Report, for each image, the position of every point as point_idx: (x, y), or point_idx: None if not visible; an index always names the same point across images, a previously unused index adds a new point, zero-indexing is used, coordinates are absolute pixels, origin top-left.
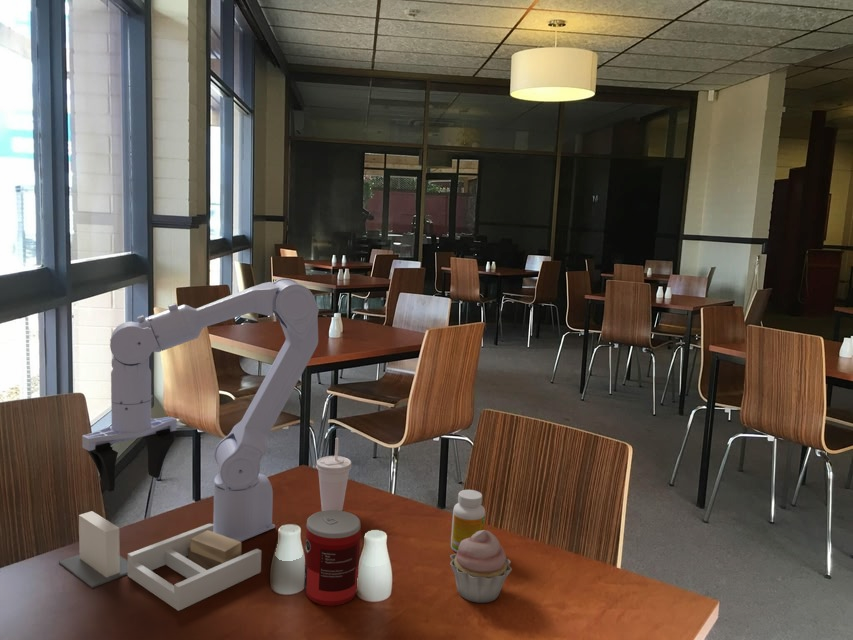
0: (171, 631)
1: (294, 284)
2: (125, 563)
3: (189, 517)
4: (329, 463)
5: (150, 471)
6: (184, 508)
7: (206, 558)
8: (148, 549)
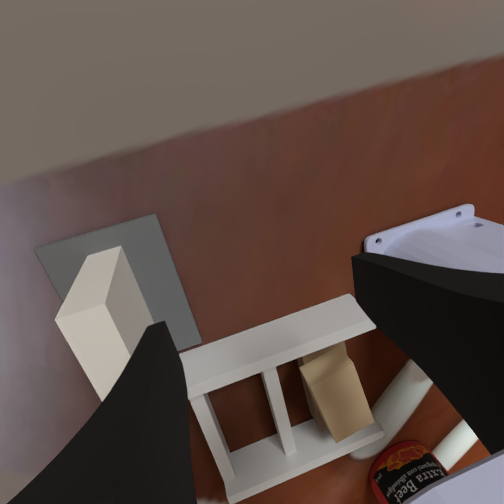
0: (199, 498)
1: None
2: (182, 317)
3: (376, 150)
4: None
5: (362, 275)
6: (393, 85)
7: (310, 394)
8: (225, 385)
